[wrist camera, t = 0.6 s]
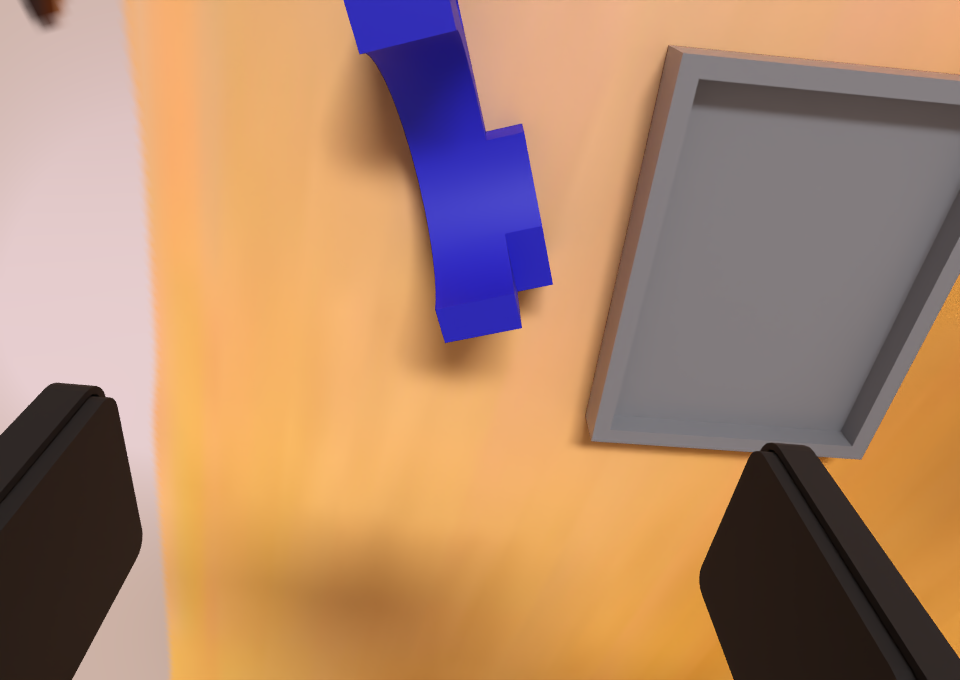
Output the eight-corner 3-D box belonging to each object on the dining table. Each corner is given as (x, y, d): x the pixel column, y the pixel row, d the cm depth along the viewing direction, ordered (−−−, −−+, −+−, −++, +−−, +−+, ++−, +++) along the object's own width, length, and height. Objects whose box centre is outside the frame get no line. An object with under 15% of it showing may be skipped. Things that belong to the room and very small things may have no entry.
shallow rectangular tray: (1017, 80, 26) (1055, 90, 24) (842, 434, 35) (861, 459, 33) (668, 45, 25) (683, 53, 23) (585, 416, 34) (591, 441, 33)
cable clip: (546, 254, 30) (560, 320, 25) (450, 274, 30) (445, 343, 25) (490, -44, 23) (495, -40, 18) (371, -14, 24) (343, -1, 19)
